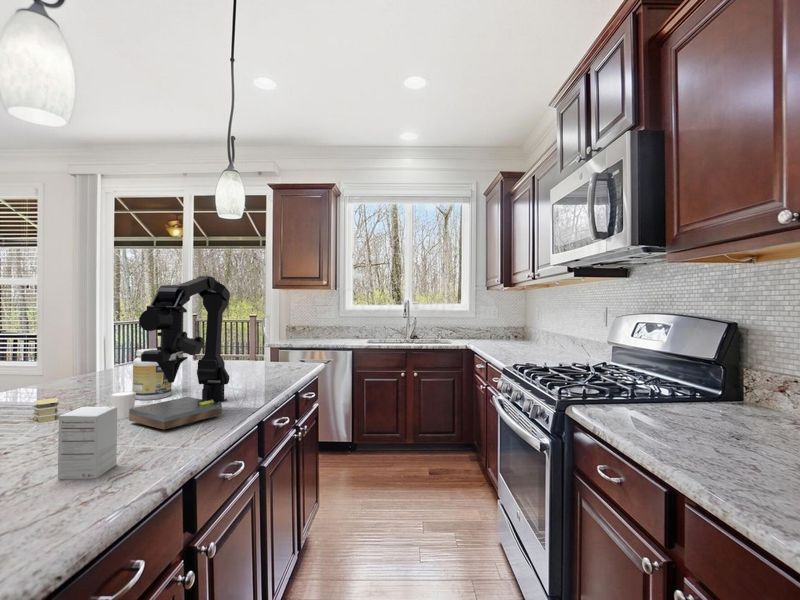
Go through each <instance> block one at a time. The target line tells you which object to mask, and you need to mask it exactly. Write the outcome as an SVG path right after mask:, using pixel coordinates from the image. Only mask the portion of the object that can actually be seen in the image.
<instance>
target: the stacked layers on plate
mask: <svg viewBox="0 0 800 600" xmlns="http://www.w3.org/2000/svg"><path fill="white" fill-rule="evenodd" d="M58 401H59V397H58V398H57V397H55V398H54V397H52V398H45V399H44V398H43V399H39V400H35V401H32V403H33V404H36V405H33V406H32V408H33V409H34V411H33V412H32V416H33V420H34V421H38V422H39V423H45V422H51V421H55V416H56V415H57V414H58V413H59V412H60V411H59V409H58V406H59V405H60V404H59V402H58Z"/></svg>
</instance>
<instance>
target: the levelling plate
mask: <svg viewBox="0 0 800 600" xmlns="http://www.w3.org/2000/svg"><path fill="white" fill-rule="evenodd" d="M222 406H223V404H222V402H218V403H216V402H214V401H213V400H208V401H206V400H202V398H201V399H200V398H195V397H191V396H185V397H180V398H176V399H175V398H174V399H170V400H166V401H165V400H164V401H160V402H155V403H152V404H151V403H150V404H145V405H141V406H137V407H134V408H131V409H129V413H131V414H135V415H139V416H143V417H147V418H150V419H154V420H158V421H162V422H166V421H170V420H174V419H178V418H182V417H186V416H190V415H194V414H198V413H202V412H206V411H210V410H214V409H218V408H222V409H223V407H222Z"/></svg>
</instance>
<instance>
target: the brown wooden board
mask: <svg viewBox="0 0 800 600" xmlns="http://www.w3.org/2000/svg"><path fill="white" fill-rule="evenodd" d="M222 409H223V407H222V408H218V409H214V410H210V411H206V412H202V413H198V414H194V415H190V416H186V417H182V418H178V419H174V420H170V421H166V422H162V421H158V420H154V419H150V418H147V417H143V416H139V415H135V414H131V413H129V418H128V421H130V422H134V423H137V424H138V425H139V426H149V427H153V428H156V429H161V430H168V429H170V428H171V429H172V428H175V427H179V426H189V425H194V424H195V423H196V422H197V421H201V420H206V419H209V418H213V417H216V416H220V415H222V412H223V410H222Z"/></svg>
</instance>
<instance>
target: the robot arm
mask: <svg viewBox="0 0 800 600" xmlns="http://www.w3.org/2000/svg"><path fill="white" fill-rule="evenodd" d="M197 294H198V295H199V297H200V298H201V299H202V305H203V307H204V309H205V310H206V312H207V313H206V330H205V339H204V337H202V336H196V337H194V338H193V337H191V338H190V337H188V333H187V331H184V313H185V314H186V313H188V310H187V309H186V308H185V307H184V305H185V304H187V303H188V302H190V300H191V297H193V296H194V295H195V296H196V295H197ZM230 299H231V293H230V291H229V289H228V288H227V287H226V285H224V284H223V283H221V282H219V281H217V280H216V279H215V277H213V276H212V275H211V276H210V275H209V276H208V275H207V276H206V275H202V276H201V275H199V276H197V277H195V278H193V279H190V280H188V281H186V282H182V283H179V284H164V285H160V286H159V287H158V289H157V291H156V293H155V294H154V296H153V299H152V301H151V303H150V304H149V305H147V306H146V310H144V311H142V313H141V314H140V316H139V318H138V323H139V326H140V327H141V328H142V329H143V330H144V331H147V332H153V331H157V333H156V335H157V337H160V346H156V349H157V350H148V351H144V352H143V353H142V354H141V362H157V363H158V365H159V366H160V368H161V369H162V371H163V373H164V375H165V377H166V379H167V380H168V382H169V383H174V382H175V380H176V376H177V374H178V371H179V368H180V365H181V364H182V363H183V362H184V361H185V360H187V359H188V356H184V354H187V355H190V356H195V355H200V354H201V351H202V350H203V349H204V355H203V356H202V358H201V359H198V361H197V369H196V375H197V376H196V377H197V382H198V385H202V389H201V399H202V400H206V401H208V400H213V401H214V402H216V403H222V402H226V401H228V399H227V398H225V385H228V384H229V383H230V375H229V374H228V372H227V370H226V368H225V367H226V365H225V361H224V358H223V357H222V356H221V345H222V344H221V343H222V329H223V326H222V325H223V313H224V312H225V311H226V309H227V308H228V306H229V302H230ZM158 331H159V332H158Z"/></svg>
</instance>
